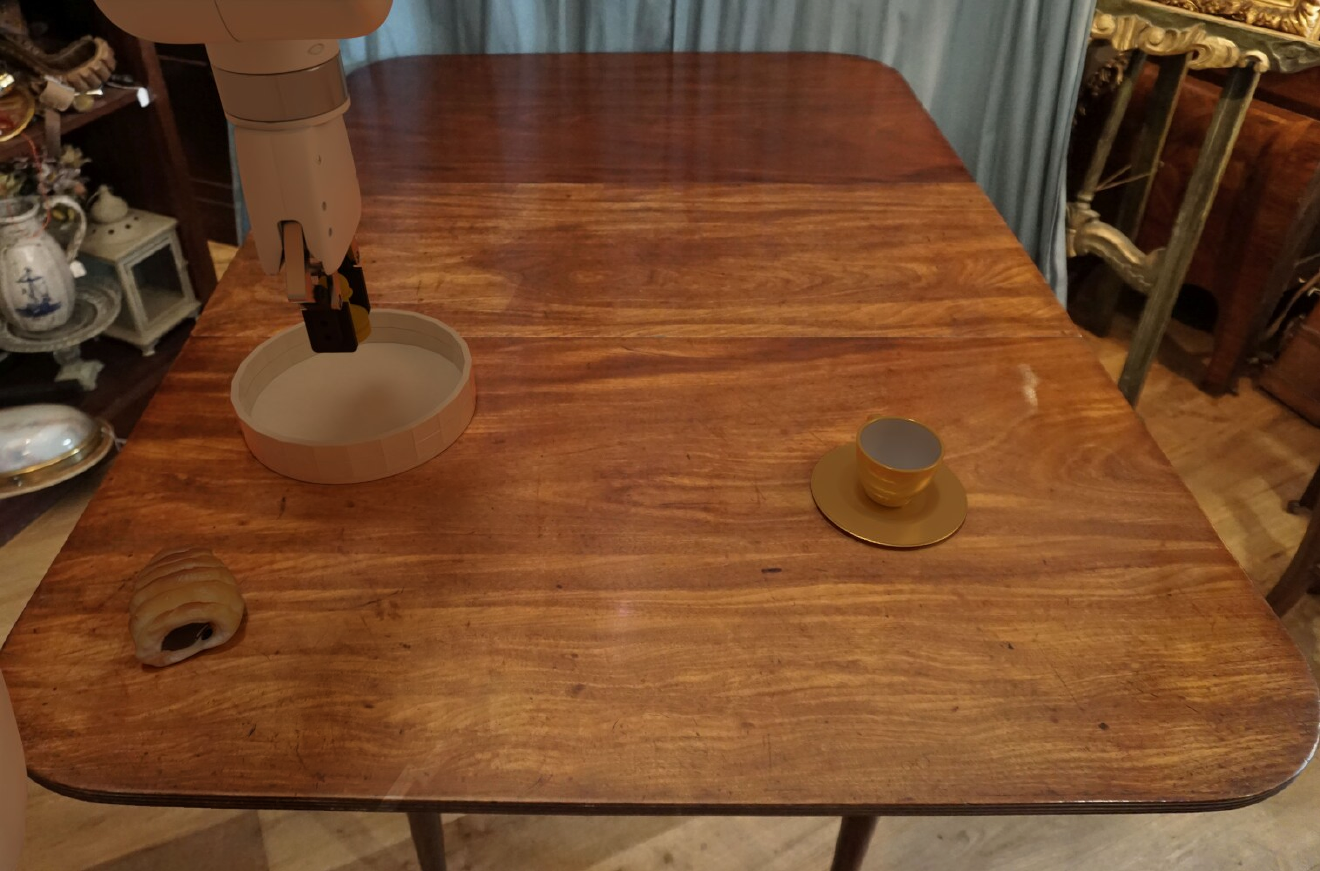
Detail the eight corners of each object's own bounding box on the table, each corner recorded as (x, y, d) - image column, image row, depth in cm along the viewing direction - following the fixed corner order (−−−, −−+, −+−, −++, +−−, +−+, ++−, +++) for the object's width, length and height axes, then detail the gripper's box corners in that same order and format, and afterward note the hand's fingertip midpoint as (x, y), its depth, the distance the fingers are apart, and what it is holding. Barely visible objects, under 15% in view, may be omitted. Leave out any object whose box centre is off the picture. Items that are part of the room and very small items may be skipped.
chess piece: (314, 323, 70) (298, 265, 67) (367, 314, 71) (355, 256, 68) (319, 352, 68) (303, 292, 64) (375, 341, 69) (362, 282, 65)
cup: (994, 538, 69) (1013, 484, 66) (842, 561, 67) (853, 507, 64) (926, 436, 78) (939, 384, 75) (790, 454, 76) (797, 402, 73)
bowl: (375, 515, 70) (366, 476, 68) (192, 437, 77) (177, 398, 74) (519, 381, 83) (515, 344, 81) (352, 324, 90) (344, 288, 87)
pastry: (130, 578, 65) (111, 540, 63) (233, 547, 68) (218, 509, 65) (142, 679, 59) (122, 641, 56) (255, 640, 61) (239, 602, 59)
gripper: (259, 40, 64) (318, 274, 76) (173, 139, 51) (260, 402, 63) (370, 41, 64) (411, 274, 76) (312, 139, 51) (373, 401, 63)
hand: (342, 330), depth 69 cm, fingers closed on chess piece, 4 cm apart
